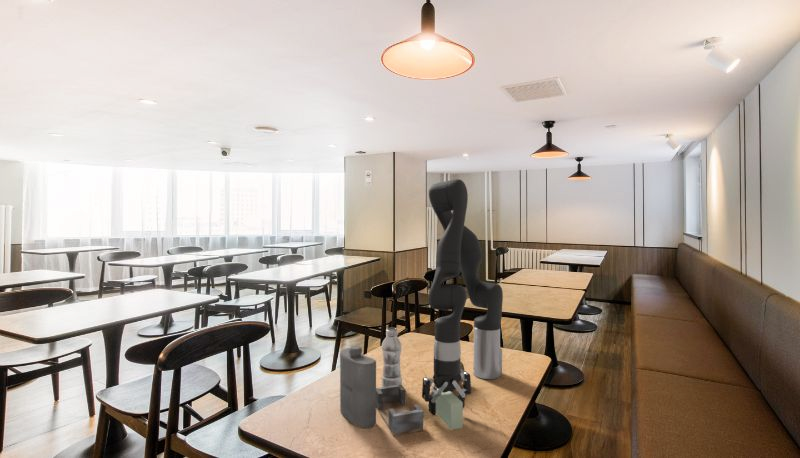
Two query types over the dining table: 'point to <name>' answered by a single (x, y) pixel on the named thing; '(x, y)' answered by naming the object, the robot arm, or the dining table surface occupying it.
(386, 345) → the plastic bottle
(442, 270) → the robot arm
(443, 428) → the dining table surface
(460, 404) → the slat
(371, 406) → the flask
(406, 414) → the cradle
